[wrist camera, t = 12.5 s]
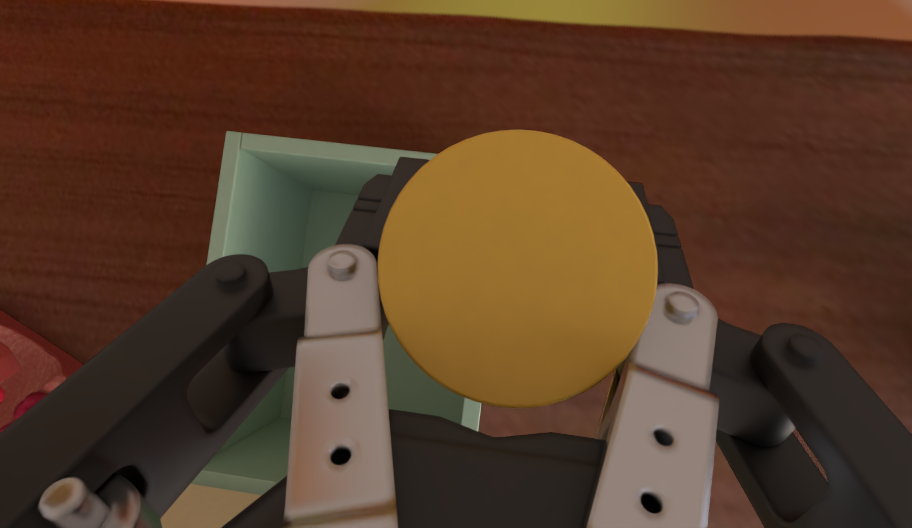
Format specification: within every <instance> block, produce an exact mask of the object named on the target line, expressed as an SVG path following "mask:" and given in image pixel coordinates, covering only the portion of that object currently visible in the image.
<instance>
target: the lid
mask: <svg viewBox="0 0 912 528" xmlns="http://www.w3.org/2000/svg"><path fill="white" fill-rule="evenodd" d="M260 496H262V495H257V494H251V493H245V492H238V491H232V490H226V489H220V488H214V487H208V486H202V485H196V484H190V485H189V486H188V487H187V488H186V489H185V490H184V492H183V493H182V494H181V495H180V496H179V498H178V499H177V500H176V501H175V502H174V503H173V505H172V506H171V507H170V508H169V509H168V510H167V512H166V513H165V514H164V515H163V516H162V517H161V519H160V520H161V524H162V528H221V527H222V526H224V525H225V524H226V523H227V522H229V521H230V520H231V519H233V518H234V517H235V516H236V515H238V514H239V513H240V512H241V511H243V510H244V509H245V508H246V507H248V506H249V505H250V504H251V503H253V502H254V501H255V500H256V499H258V498H259V497H260Z"/></svg>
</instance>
